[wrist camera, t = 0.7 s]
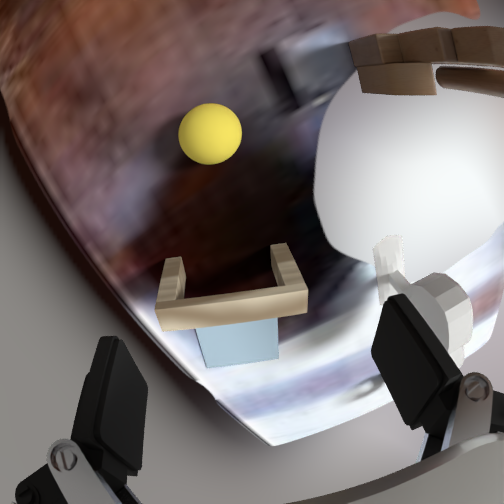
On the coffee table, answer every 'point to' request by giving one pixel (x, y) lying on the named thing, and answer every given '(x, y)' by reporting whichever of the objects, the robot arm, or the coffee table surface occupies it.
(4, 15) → the coffee table surface
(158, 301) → the bridge
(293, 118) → the coffee table surface
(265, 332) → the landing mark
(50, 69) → the coffee table surface
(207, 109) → the ball
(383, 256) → the heart sculpture
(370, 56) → the wooden toy
